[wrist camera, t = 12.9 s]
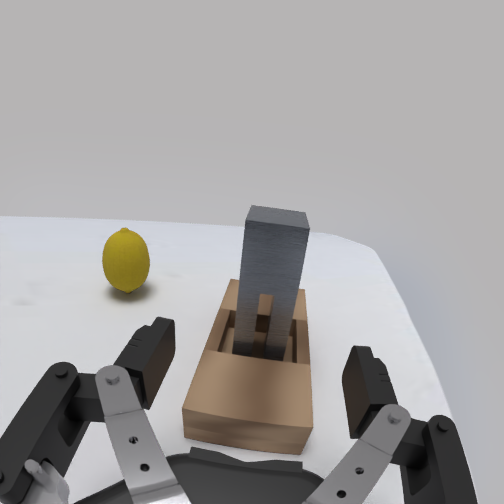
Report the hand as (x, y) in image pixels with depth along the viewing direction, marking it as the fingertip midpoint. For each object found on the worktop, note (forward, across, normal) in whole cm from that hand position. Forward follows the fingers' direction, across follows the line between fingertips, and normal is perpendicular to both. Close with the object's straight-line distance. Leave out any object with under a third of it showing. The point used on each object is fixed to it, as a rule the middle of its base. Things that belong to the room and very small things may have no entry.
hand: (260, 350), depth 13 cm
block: (+10, 0, +8) cm, 13 cm away
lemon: (+18, +16, +10) cm, 26 cm away
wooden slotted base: (+10, 0, +10) cm, 14 cm away
